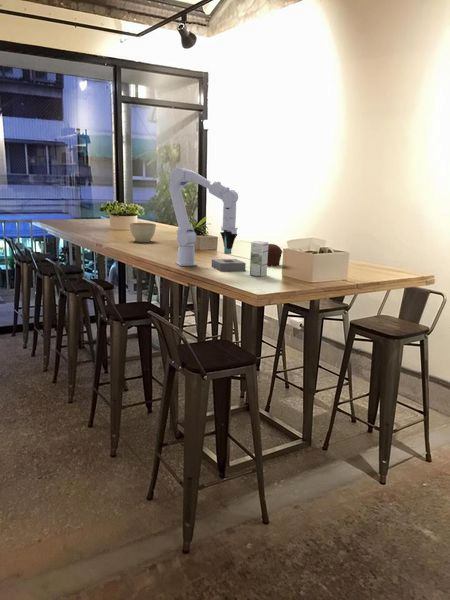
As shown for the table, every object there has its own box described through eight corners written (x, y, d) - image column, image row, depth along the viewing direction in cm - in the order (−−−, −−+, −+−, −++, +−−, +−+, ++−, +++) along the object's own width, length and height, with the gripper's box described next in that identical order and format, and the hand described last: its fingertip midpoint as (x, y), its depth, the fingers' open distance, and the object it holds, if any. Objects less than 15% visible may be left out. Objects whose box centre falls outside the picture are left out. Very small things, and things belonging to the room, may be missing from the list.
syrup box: (267, 275, 225) (269, 241, 222) (261, 277, 220) (262, 243, 217) (255, 273, 228) (257, 240, 225) (249, 275, 223) (250, 241, 220)
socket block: (211, 266, 242) (211, 259, 241) (235, 266, 246) (235, 258, 245) (220, 271, 231) (220, 263, 230) (245, 270, 235) (245, 262, 234)
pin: (223, 253, 237) (223, 235, 235) (229, 253, 238) (230, 235, 236) (225, 254, 234) (226, 236, 232) (232, 254, 235) (233, 236, 233)
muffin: (255, 262, 258) (256, 242, 256) (276, 262, 261) (278, 242, 259) (263, 266, 247) (264, 245, 245) (285, 266, 250) (286, 246, 248)
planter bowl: (125, 241, 320) (125, 223, 318) (136, 239, 335) (136, 222, 333) (149, 243, 316) (149, 225, 313) (159, 241, 331) (160, 223, 328)
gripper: (243, 219, 227) (242, 250, 230) (231, 216, 240) (230, 246, 243) (228, 219, 225) (227, 250, 228) (217, 216, 238) (216, 246, 241)
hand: (228, 248), depth 235 cm, fingers closed on pin, 3 cm apart
